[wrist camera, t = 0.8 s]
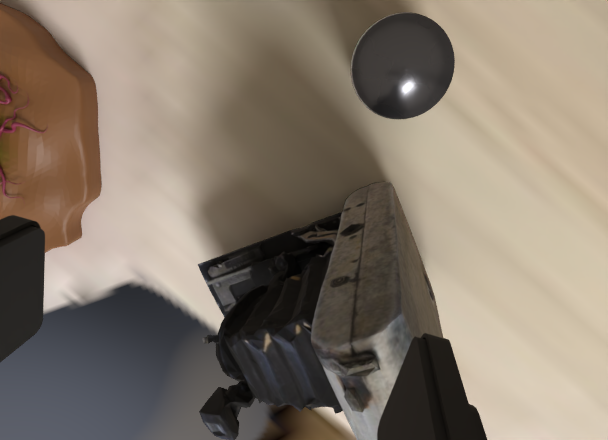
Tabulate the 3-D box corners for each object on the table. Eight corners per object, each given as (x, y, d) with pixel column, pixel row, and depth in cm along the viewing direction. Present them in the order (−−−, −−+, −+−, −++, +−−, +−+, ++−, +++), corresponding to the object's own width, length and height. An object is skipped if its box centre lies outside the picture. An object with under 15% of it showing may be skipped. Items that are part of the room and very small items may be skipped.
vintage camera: (211, 235, 36) (33, 430, 17) (392, 170, 31) (406, 339, 13) (261, 330, 38) (151, 586, 20) (434, 282, 34) (494, 553, 16)
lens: (431, 18, 28) (454, 1, 20) (435, 101, 30) (458, 113, 22) (350, 32, 29) (344, 20, 21) (358, 112, 30) (355, 127, 23)
